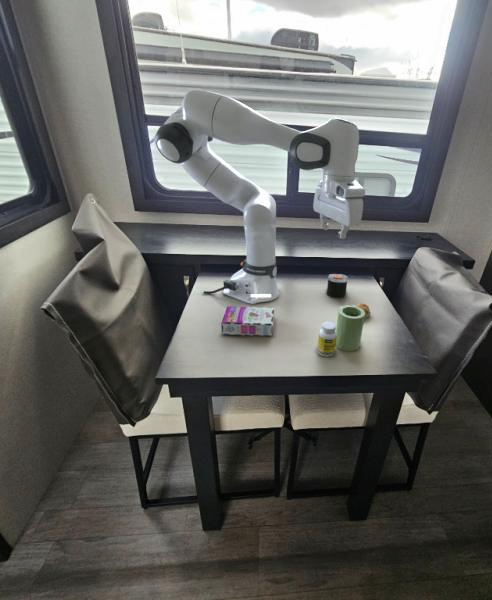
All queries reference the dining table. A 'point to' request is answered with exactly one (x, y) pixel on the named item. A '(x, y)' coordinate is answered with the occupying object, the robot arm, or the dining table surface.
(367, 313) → the pastry
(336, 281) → the sushi
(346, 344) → the green vase
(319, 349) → the supplement bottle
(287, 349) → the dining table surface
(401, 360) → the dining table surface
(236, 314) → the candy bar box
